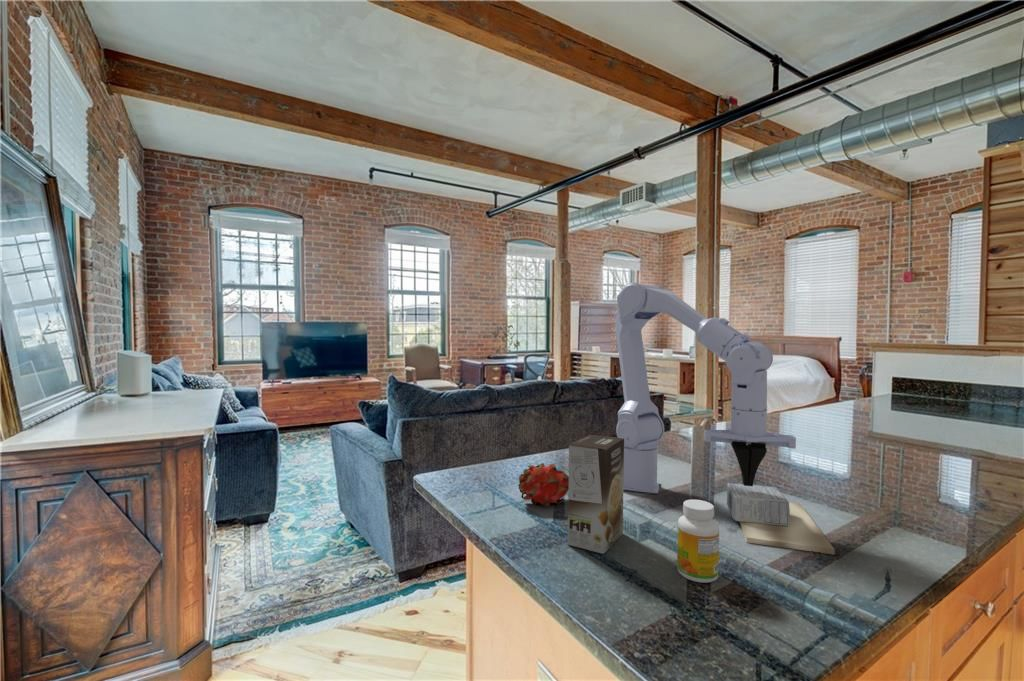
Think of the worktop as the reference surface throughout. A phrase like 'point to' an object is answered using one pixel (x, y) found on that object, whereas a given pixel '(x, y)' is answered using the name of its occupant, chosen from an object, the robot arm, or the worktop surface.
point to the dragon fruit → (543, 484)
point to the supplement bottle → (698, 542)
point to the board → (789, 533)
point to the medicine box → (757, 504)
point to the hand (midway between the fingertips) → (747, 484)
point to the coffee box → (595, 492)
